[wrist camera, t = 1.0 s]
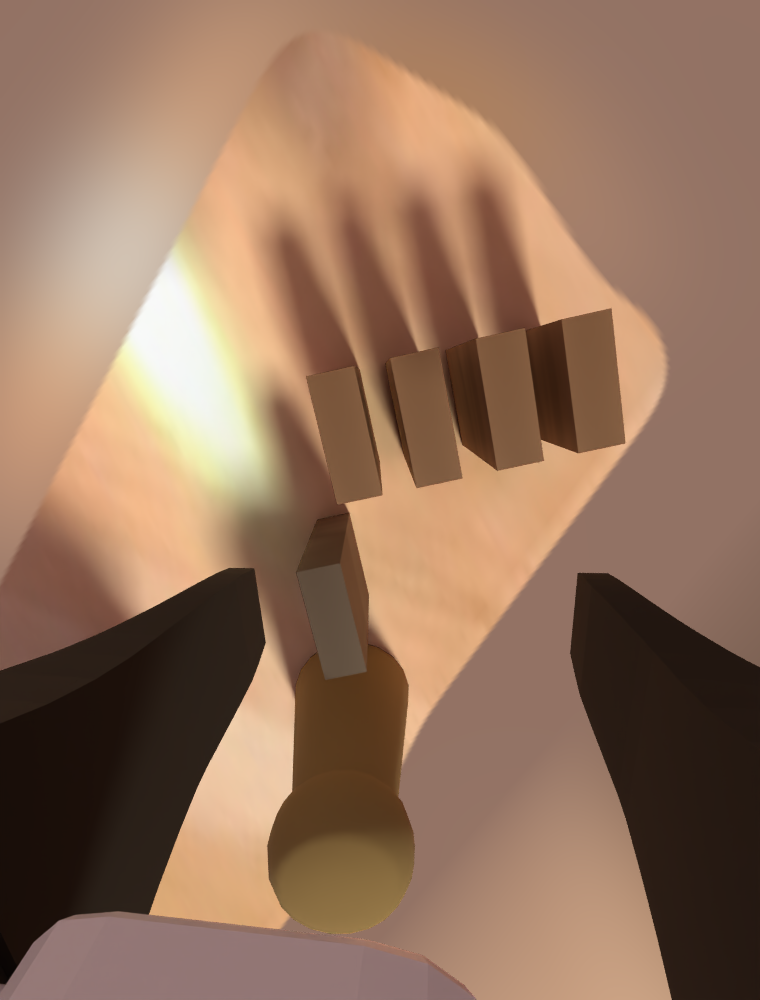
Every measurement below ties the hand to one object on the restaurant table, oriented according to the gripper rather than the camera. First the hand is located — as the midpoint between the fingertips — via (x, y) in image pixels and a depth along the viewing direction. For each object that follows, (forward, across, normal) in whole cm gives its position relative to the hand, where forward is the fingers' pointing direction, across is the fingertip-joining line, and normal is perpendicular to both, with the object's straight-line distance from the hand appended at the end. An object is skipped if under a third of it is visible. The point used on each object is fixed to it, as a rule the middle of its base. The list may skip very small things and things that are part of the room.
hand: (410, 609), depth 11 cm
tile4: (+14, -2, -2) cm, 15 cm away
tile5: (+15, -5, -3) cm, 16 cm away
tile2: (+14, +4, -2) cm, 14 cm away
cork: (+12, +4, +13) cm, 18 cm away
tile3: (+14, +1, -2) cm, 14 cm away
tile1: (+13, +4, +5) cm, 14 cm away
